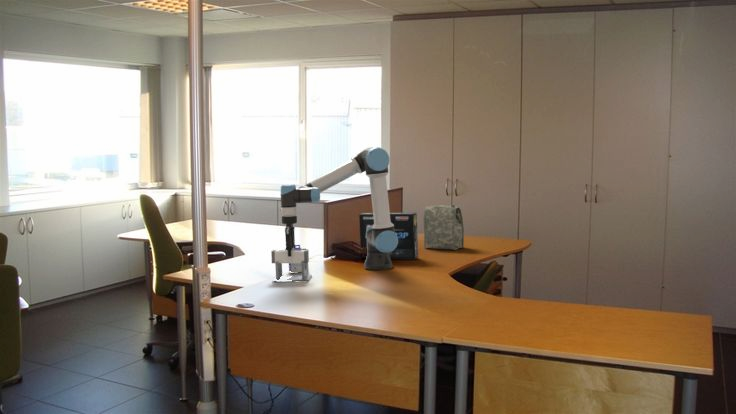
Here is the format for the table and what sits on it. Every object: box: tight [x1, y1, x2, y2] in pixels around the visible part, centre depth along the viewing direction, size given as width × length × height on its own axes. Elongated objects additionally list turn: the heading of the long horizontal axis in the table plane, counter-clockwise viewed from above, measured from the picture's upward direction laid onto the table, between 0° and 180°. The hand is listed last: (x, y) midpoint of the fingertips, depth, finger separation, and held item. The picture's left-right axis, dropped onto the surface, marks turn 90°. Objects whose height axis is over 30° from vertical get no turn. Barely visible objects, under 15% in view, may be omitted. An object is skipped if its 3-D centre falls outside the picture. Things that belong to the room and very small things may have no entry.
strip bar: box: [271, 249, 310, 264], centre depth 343 cm, size 18×4×6 cm, turn 86°
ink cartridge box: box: [288, 244, 310, 272], centre depth 363 cm, size 10×6×14 cm, turn 114°
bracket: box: [274, 261, 312, 282], centre depth 344 cm, size 18×12×10 cm, turn 86°
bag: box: [422, 204, 465, 251], centre depth 428 cm, size 22×16×27 cm
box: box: [358, 212, 419, 261], centre depth 396 cm, size 33×8×27 cm, turn 68°
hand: (291, 261), depth 343 cm, fingers closed on strip bar, 4 cm apart
